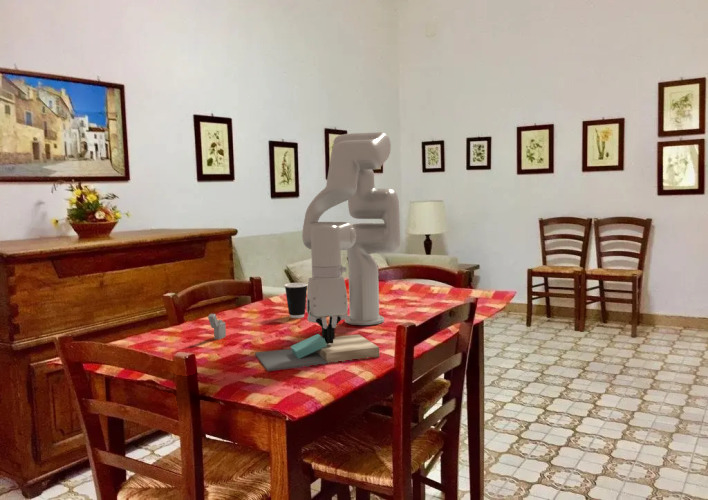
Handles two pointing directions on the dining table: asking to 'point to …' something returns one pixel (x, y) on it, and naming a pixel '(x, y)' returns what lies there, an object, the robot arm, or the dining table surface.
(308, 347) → the teal tile
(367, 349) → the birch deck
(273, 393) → the dining table surface
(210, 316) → the lighter
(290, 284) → the dixie cup
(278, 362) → the rubber mat
